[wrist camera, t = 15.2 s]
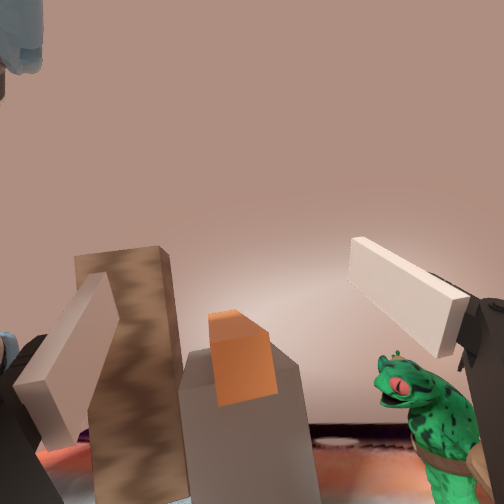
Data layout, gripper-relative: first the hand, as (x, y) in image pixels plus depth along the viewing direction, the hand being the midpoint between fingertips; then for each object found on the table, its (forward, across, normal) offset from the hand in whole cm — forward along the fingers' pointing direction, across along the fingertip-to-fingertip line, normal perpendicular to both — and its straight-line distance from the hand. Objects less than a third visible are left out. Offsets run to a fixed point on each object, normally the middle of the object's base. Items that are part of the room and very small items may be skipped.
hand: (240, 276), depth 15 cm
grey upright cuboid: (+2, 0, -29) cm, 29 cm away
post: (+11, -12, -34) cm, 38 cm away
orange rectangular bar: (+9, 0, -14) cm, 17 cm away
